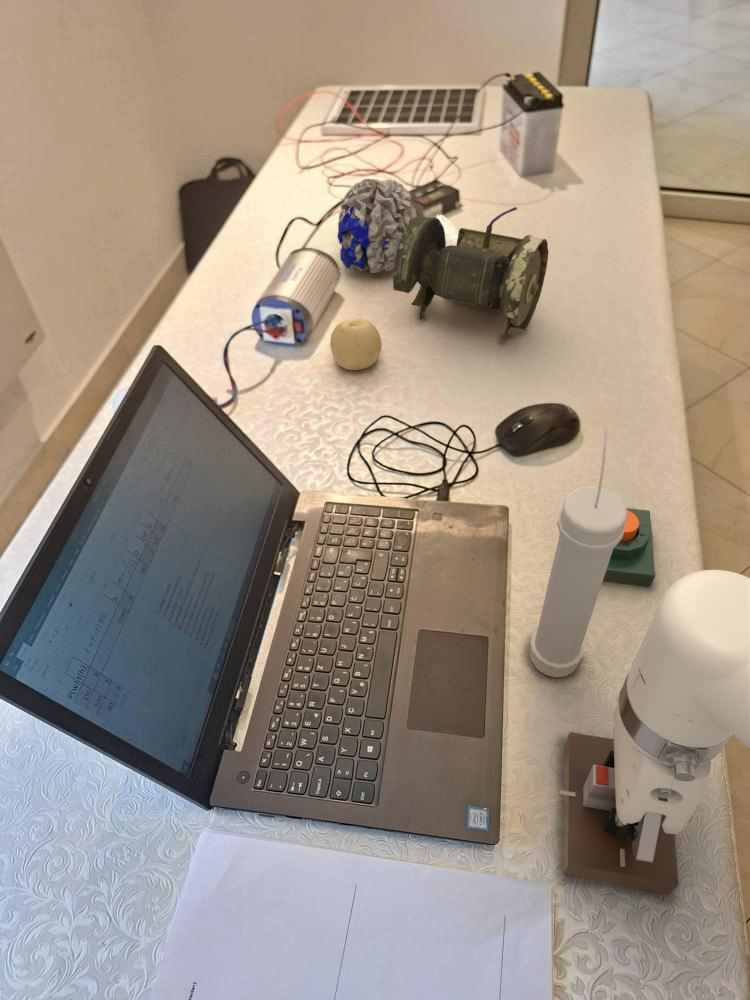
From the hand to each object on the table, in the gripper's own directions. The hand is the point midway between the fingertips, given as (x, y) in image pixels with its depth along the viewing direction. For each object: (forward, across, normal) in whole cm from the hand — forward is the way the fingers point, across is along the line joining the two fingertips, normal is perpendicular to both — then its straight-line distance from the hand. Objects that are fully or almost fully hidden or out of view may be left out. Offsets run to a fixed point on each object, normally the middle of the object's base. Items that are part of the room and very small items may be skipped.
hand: (621, 801), depth 64 cm
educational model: (+4, +96, +40) cm, 104 cm away
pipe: (+4, +16, +6) cm, 17 cm away
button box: (+3, +32, -1) cm, 32 cm away
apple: (+4, +64, +38) cm, 74 cm away
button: (0, +32, -1) cm, 32 cm away
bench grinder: (+4, +79, +21) cm, 82 cm away
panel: (+3, 0, 0) cm, 3 cm away
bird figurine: (+4, +99, +27) cm, 103 cm away
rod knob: (0, 0, 0) cm, 0 cm away
